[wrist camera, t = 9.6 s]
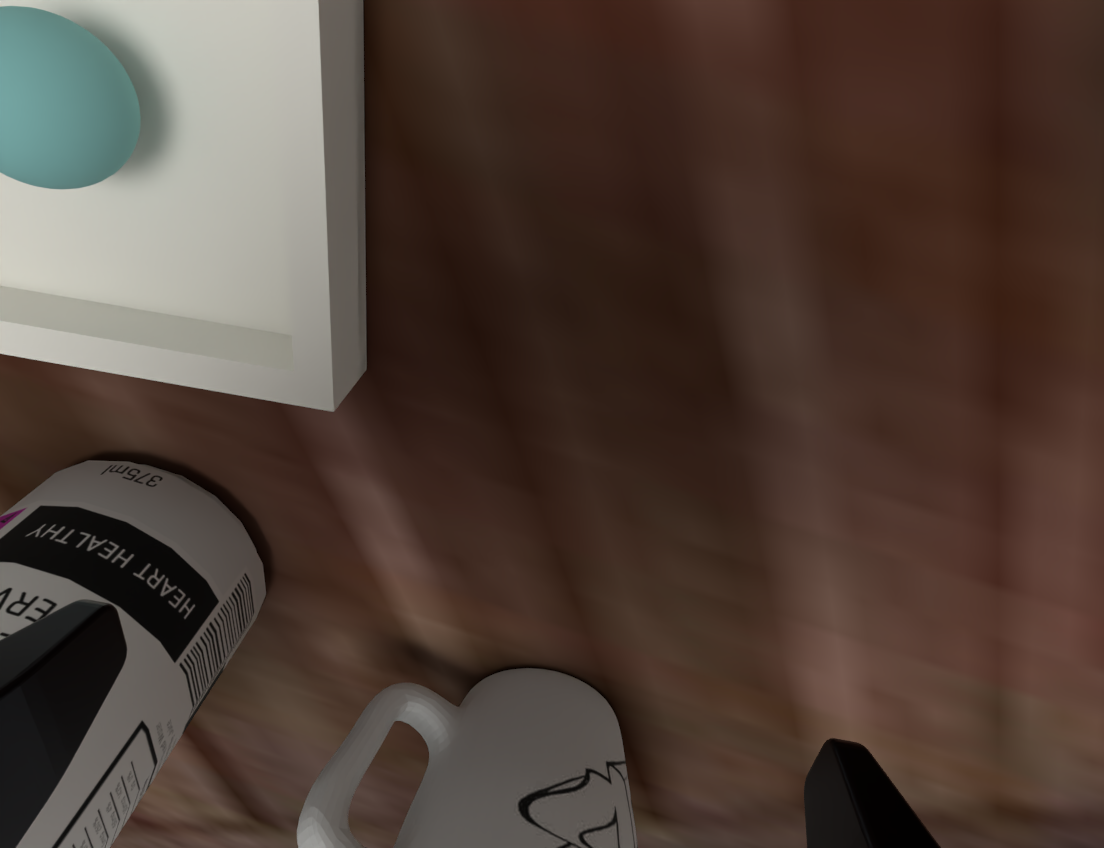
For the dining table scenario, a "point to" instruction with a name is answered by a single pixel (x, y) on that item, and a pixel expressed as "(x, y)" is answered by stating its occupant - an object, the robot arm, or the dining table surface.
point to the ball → (61, 102)
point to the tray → (208, 208)
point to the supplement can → (129, 619)
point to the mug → (491, 768)
